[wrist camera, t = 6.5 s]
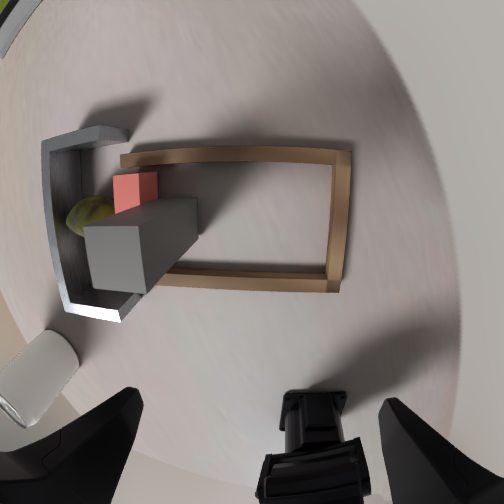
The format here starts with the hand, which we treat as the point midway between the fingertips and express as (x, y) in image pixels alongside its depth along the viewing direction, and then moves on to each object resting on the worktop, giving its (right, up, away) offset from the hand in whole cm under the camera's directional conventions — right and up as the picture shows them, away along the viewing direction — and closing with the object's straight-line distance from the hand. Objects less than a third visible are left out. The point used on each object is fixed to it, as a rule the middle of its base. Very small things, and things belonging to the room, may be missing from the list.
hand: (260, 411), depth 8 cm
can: (-24, -7, +18) cm, 30 cm away
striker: (-7, +8, +11) cm, 15 cm away
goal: (-13, +8, +12) cm, 19 cm away
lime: (-12, +8, +12) cm, 19 cm away
